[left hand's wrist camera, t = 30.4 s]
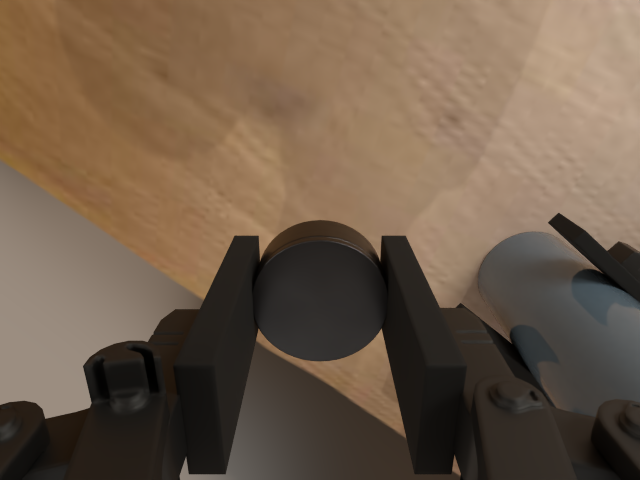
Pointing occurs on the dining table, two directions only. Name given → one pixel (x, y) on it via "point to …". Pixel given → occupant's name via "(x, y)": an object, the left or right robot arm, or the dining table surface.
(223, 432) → the left robot arm
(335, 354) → the cap
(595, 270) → the bottle
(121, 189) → the dining table surface
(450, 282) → the dining table surface
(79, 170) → the dining table surface
